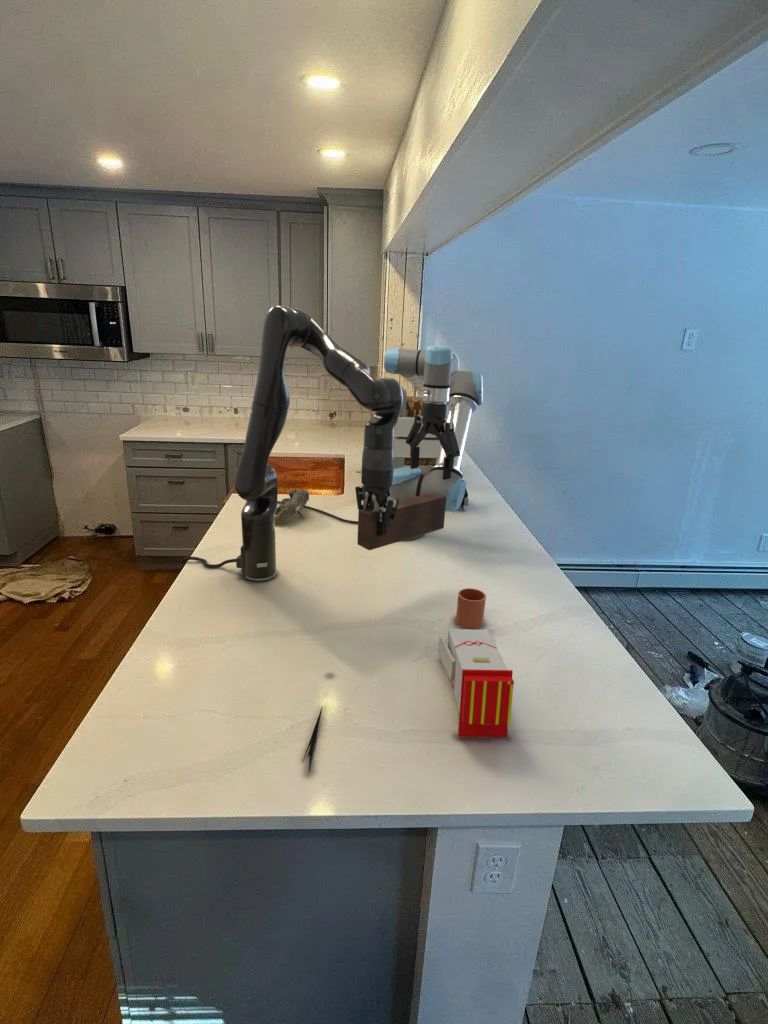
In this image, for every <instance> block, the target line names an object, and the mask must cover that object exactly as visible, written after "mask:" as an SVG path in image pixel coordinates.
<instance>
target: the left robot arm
mask: <svg viewBox="0 0 768 1024" xmlns="http://www.w3.org/2000/svg"><path fill="white" fill-rule="evenodd" d="M261 336H262V337H261V347H260V348H261V349H260V357H259V358H260V359H259V366H258V370H257V371H258V372H257V378H256V383H255V389H254V393H253V397H252V402H251V407H250V413H249V420H248V424H247V430H246V435H245V439H244V440H245V441H244V445H243V449H242V453H241V456H240V459H239V462H238V466H237V469H236V472H235V475H234V489H235V491H236V494H237V495H238V496H239V497H240V499H242V500H244V501H246V502H245V503H244V506H243V507H242V509H241V512H240V520H241V542H242V545H241V546H240V554H239V555H238V556H237V557H235V558H232V559H225V560H223V561H222V562H220V563H216V564H212V563H208V560H206V559H204V558H201V557H198V556H186V557H183V558H182V559H181V560H180V561H179V563H182V564H183V563H185V562H186V561H187V562H188V561H198V562H200V563H203V565H204V567H206V568H211V569H215V568H221V567H223V566H224V565H226V564H231V563H235V564H236V566H235V567H236V569H241V579H246V580H248V581H251V582H265V581H269V580H272V579H274V578H275V577H276V576H277V554H276V553H277V551H276V524H275V516H276V515H275V512H276V509H277V507H278V503H277V501H278V497H279V496H278V493H279V491H278V489H279V488H278V487H279V486H278V485H279V484H278V483H279V482H278V481H279V480H278V476H277V472H276V470H275V469H274V467H273V466H272V465H271V464H270V463H268V462H269V459H270V457H271V456H270V455H271V453H272V451H273V448H274V447H275V445H276V443H277V441H278V440H279V438H280V436H281V434H282V431H283V429H284V427H285V424H286V421H287V417H288V414H289V413H288V412H289V408H290V403H291V397H290V392H289V387H288V385H287V381H286V377H285V371H284V370H285V369H284V366H285V365H284V364H285V358H286V353H287V351H288V347H290V348H301V349H304V350H306V351H307V352H309V353H311V354H313V355H314V356H315V357H316V358H317V359H318V360H319V361H320V363H321V365H322V367H323V369H324V370H325V371H326V372H327V374H328V375H330V376H331V377H332V378H333V379H334V380H336V381H337V382H338V383H340V384H341V385H342V386H344V387H345V388H346V389H348V391H349V393H350V394H351V395H352V396H353V398H354V399H355V400H356V402H357V403H358V404H359V405H360V406H361V407H362V408H364V409H365V410H368V411H370V412H374V414H373V417H372V418H371V419H370V420H368V421H367V422H366V423H365V425H364V428H363V429H364V431H363V449H362V456H361V475H360V477H361V484H362V485H359V486H355V488H354V490H355V496H356V497H355V499H356V505H357V510H358V511H359V510H361V509H365V508H366V509H367V508H370V507H375V512H376V513H377V514H378V521H379V522H378V530H377V535H378V536H379V537H381V536H384V535H385V534H386V533H387V522H389V521H393V520H394V518H395V514H396V511H397V507H398V504H399V500H398V499H393V498H392V497H391V494H390V487H391V485H392V484H393V471H394V431H395V426H396V424H397V421H398V417H399V414H400V410H401V406H402V401H403V393H402V388H403V387H402V385H401V384H400V382H399V381H398V380H396V379H395V378H393V377H382V378H374V377H372V376H371V369H370V367H369V365H367V364H366V363H365V362H364V361H363V360H362V359H360V358H359V357H357V356H356V355H355V354H353V353H352V352H351V351H349V350H347V348H345V347H344V346H342V345H341V344H340V343H338V342H337V341H336V340H335V339H334V338H332V337H331V335H329V333H327V331H325V330H324V329H323V328H322V326H320V325H319V324H318V322H317V321H316V320H315V319H314V318H313V317H312V316H311V315H310V314H309V313H308V312H307V311H305V310H304V309H302V308H298V307H292V306H286V305H274V306H272V307H271V308H270V309H269V310H268V311H267V313H266V315H265V318H264V321H263V328H262V335H261ZM401 387H402V388H401ZM362 502H363V503H362ZM383 506H384V508H382V509H380V508H379V507H383ZM382 512H384V517H382ZM389 515H390V516H389Z"/></svg>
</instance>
